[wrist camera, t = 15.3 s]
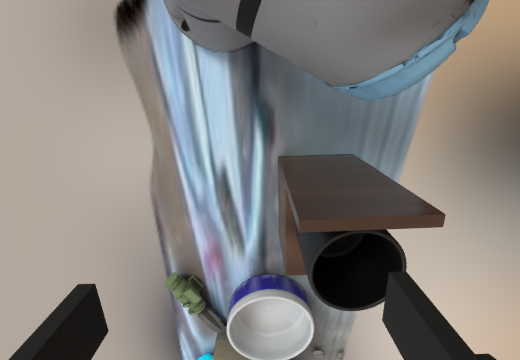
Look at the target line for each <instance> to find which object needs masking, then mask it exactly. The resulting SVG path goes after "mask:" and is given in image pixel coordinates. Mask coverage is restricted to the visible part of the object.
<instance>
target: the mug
mask: <svg viewBox="0 0 520 360" xmlns="http://www.w3.org/2000/svg"><path fill="white" fill-rule="evenodd" d="M296 236H297V240H298V243H299V247H300V251H301V254H302V258H303V261H304V265H305V269H306V272H307V276H308V280H309V283H310V286H311V289H312V290H313V292H314V294H315V295H316V296H317V297H318V298H319V299H320V300H321V301H322V302H323V303H325V304H326V305H328V306H330V307H333V308H335V309H339V310H343V311H360V310H365V309H368V308H372V307H375V306H377V305H378V304H381V303H382V302H384V301H385V297H386V290H387V283H388V276H389V272H406V257H405V253H404V251H403V249H402V248H401V246H400V245H399V243H398V242H397V241H396V240H395V239H394V238H393V236H391V234H390V233H389V232H388V231H387V230H386V229H380V230H355V231H329V232H303V233H299V231H298V228H297V225H296Z"/></svg>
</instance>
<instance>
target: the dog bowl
mask: <svg viewBox="0 0 520 360" xmlns="http://www.w3.org/2000/svg"><path fill="white" fill-rule="evenodd" d="M313 335H314V321H313V317H312V313H311V310H310V306H309V303H308V300H307V297H306V294H305V292H304V290H303V289H302V288H301V287H300V286H299V285H298V284H297V283H296V282H295V281H293V280H291V279H289V278H287V277H284V276H281V275H275V274H265V275H258V276H255V277H252V278H250V279H248V280H246V281H245V282H243V283H242V284H241V285H240V286H239V287H238V288H237V289H236V291H235V292H234V294H233V296H232V299H231V303H230V309H229V315H228V321H227V336H228V339H229V342H230V343H231V345H232V346H233V348H234V349H235V350H236V351H237V352H238V353H240V354H241V355H243V356H244V357H246V358H248V359H251V360H288V359H291V358H293V357H295V356H297V355H298V354H300V353H301V352H302V351H304V350H305V349H306V348H307V346H308V345H309V344H310V342H311V340H312V338H313Z"/></svg>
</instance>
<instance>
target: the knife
mask: <svg viewBox="0 0 520 360" xmlns="http://www.w3.org/2000/svg"><path fill="white" fill-rule="evenodd" d="M165 286H166V287H168V288H169V289H171V292H172V293H173V295H174V296H175V297H176V299H177V300H178V301H179V302H181V303H182V304H183V307H184V308H185V307H188V308H190V309H189V311H188V313H189V314H190V315H193V314H199V315H198V317H199V318H200V319H201V320H202V321H203V322H204V323H205V324H206V325H207V326H209V327H210V328H211V329H212V330H214V331H215V332H217V333H220V334H223V335H227V327H226V326H225V325H223V322H221V319H220V318H219V316H218V315H216V313H214V311H213V310H211V307H210V306H207V305H206V301H205V300H204V299H203V298H202V297H201V296H200V290H201V288H203V287H204V285H203V284H202V283H201V282H200V281H199V280H198V279H197V278H196V277H195V276H192V277H190V278H189V279H187V280H185V279H183V278H180V276H179V275H178V274H177V273H176V272H175V273H173V274H171V275H170V276H169V277H168V278H167V279H166V281H165Z"/></svg>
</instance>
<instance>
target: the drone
mask: <svg viewBox="0 0 520 360" xmlns="http://www.w3.org/2000/svg"><path fill="white" fill-rule="evenodd" d="M197 360H213V355H212V354H205V355H203V356H201V357H200V358H199V359H197Z"/></svg>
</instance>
